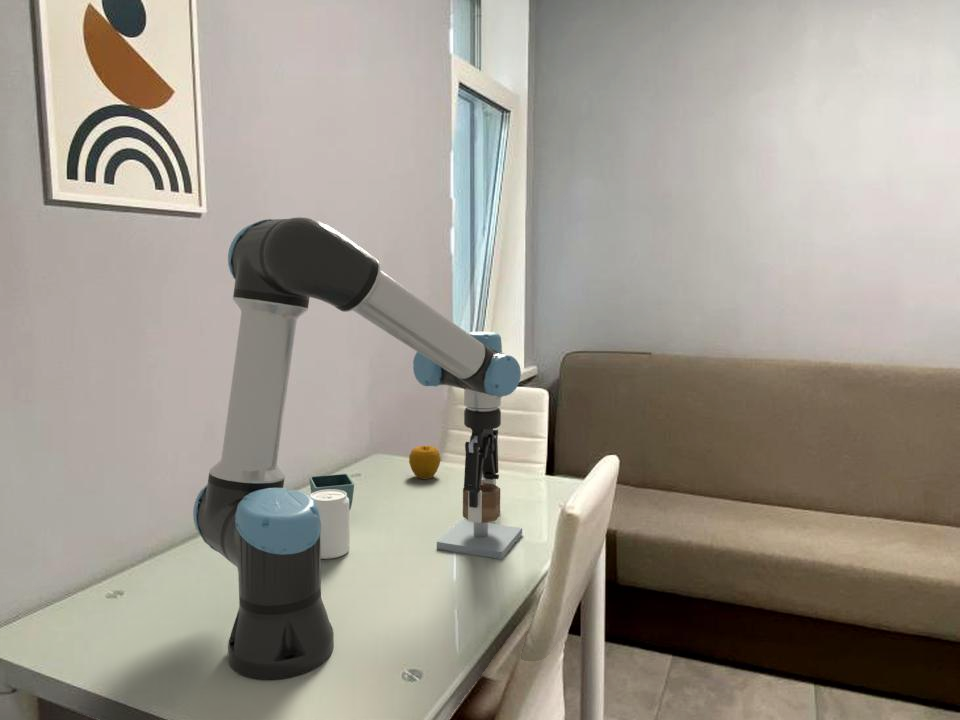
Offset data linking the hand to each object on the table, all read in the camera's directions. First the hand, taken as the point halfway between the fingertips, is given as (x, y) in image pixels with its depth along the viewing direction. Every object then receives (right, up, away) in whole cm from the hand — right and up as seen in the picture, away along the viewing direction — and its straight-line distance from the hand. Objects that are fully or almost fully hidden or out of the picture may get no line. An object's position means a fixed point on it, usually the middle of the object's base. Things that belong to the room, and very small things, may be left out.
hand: (481, 514), depth 148 cm
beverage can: (-31, -6, -6) cm, 32 cm away
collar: (0, 0, 0) cm, 0 cm away
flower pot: (-34, -4, +13) cm, 37 cm away
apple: (-15, 0, +46) cm, 48 cm away
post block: (0, -6, +1) cm, 6 cm away
